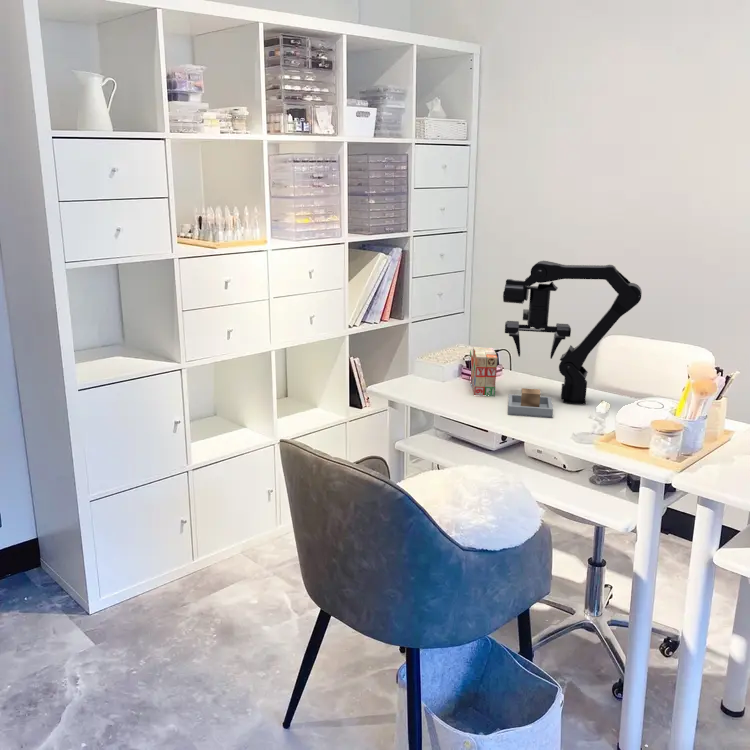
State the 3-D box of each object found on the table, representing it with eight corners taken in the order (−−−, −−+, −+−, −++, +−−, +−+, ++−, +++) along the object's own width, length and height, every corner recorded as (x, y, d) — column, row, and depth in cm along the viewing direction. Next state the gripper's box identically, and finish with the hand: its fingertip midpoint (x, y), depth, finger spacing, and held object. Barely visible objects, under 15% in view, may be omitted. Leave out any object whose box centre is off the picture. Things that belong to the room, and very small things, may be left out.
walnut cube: (538, 406, 219) (539, 389, 218) (539, 411, 215) (540, 394, 213) (520, 405, 220) (521, 388, 219) (520, 410, 215) (522, 393, 214)
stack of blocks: (468, 377, 251) (470, 340, 247) (487, 378, 250) (490, 341, 247) (474, 396, 230) (476, 356, 227) (495, 397, 230) (497, 356, 227)
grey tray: (550, 405, 222) (551, 396, 222) (552, 418, 211) (552, 409, 210) (508, 402, 224) (508, 394, 224) (507, 414, 213) (508, 406, 212)
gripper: (570, 302, 230) (565, 353, 234) (506, 299, 233) (503, 349, 237) (573, 308, 219) (568, 361, 223) (506, 305, 222) (502, 357, 226)
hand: (535, 357), depth 228 cm, fingers open, 9 cm apart
